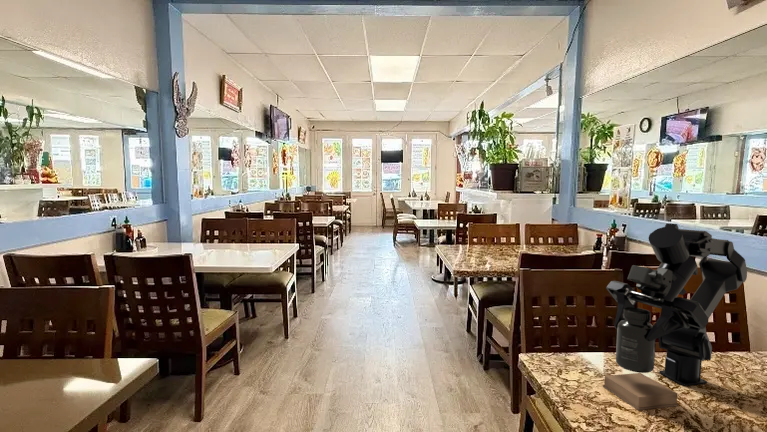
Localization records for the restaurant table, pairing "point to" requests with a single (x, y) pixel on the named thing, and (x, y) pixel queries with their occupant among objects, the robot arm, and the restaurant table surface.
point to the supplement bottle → (635, 341)
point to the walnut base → (640, 391)
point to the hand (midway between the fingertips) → (631, 333)
